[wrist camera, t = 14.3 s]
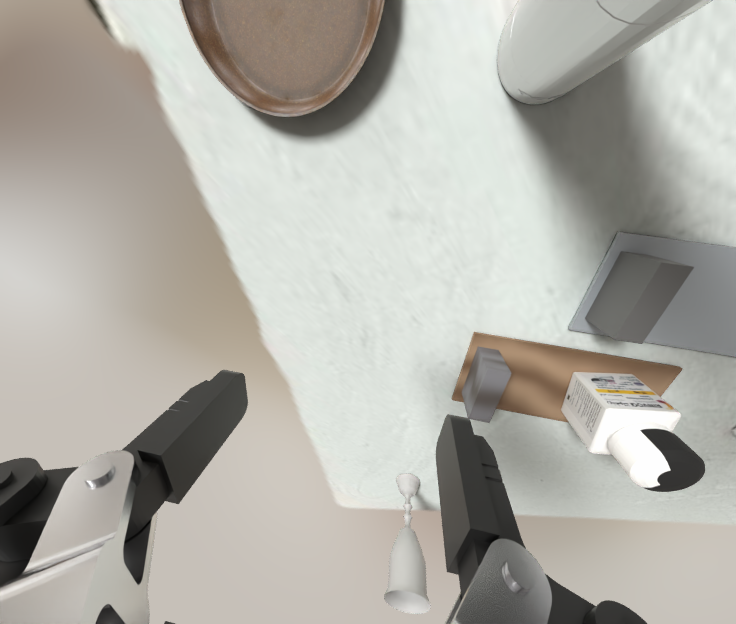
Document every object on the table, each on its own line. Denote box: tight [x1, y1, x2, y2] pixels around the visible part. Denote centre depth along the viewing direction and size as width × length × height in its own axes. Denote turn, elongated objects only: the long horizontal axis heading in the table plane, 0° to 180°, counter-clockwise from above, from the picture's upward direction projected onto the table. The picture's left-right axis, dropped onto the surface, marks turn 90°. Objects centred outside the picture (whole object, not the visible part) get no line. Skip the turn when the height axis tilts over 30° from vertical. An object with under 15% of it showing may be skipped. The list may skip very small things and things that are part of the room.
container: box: [561, 372, 705, 492], centre depth 33 cm, size 8×8×13 cm
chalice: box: [384, 473, 431, 614], centre depth 47 cm, size 7×7×18 cm
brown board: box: [452, 332, 682, 423], centre depth 37 cm, size 13×28×6 cm, turn 83°
